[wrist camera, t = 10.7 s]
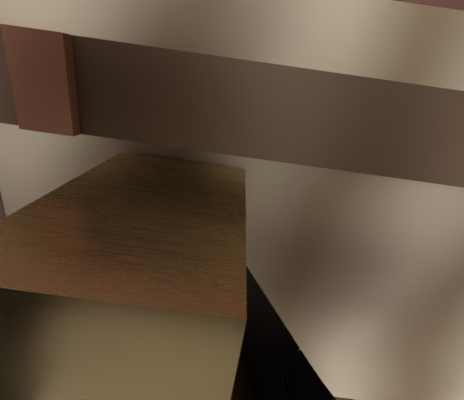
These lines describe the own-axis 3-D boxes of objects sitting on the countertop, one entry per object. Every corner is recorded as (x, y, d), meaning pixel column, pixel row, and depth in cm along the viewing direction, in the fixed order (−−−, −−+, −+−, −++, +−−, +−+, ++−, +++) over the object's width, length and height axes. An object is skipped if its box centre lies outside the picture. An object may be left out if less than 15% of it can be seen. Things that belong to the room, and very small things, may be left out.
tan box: (245, 169, 9) (246, 320, 3) (213, 374, 13) (189, 599, 7) (120, 152, 9) (-98, 275, 3) (127, 363, 13) (37, 581, 7)
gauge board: (755, 69, 9) (1188, 59, 5) (493, 389, 15) (581, 499, 11) (-9, -41, 8) (-238, -152, 4) (57, 331, 15) (-11, 423, 11)
